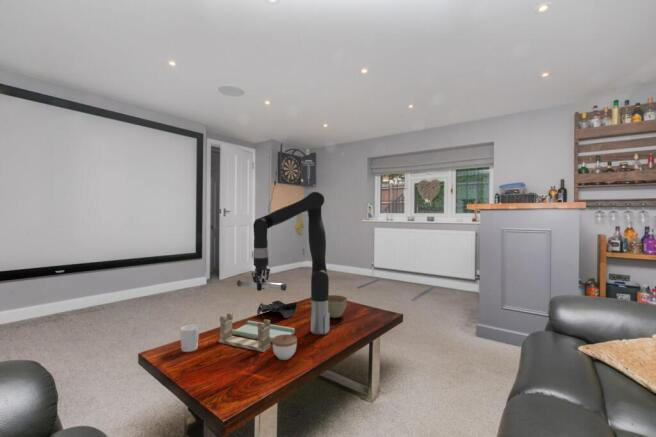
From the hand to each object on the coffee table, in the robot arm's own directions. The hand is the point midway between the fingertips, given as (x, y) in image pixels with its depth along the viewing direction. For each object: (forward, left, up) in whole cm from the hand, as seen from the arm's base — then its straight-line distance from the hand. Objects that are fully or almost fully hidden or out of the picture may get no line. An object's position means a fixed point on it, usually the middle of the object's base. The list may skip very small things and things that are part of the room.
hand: (261, 289), depth 154 cm
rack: (0, +13, -24) cm, 27 cm away
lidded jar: (-24, +16, -24) cm, 37 cm away
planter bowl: (-24, -44, -24) cm, 55 cm away
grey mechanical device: (+9, -30, -24) cm, 39 cm away
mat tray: (0, -2, -24) cm, 24 cm away
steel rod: (0, 0, +2) cm, 2 cm away
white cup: (+20, +27, -24) cm, 41 cm away
